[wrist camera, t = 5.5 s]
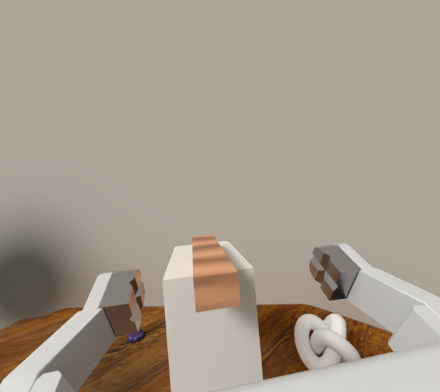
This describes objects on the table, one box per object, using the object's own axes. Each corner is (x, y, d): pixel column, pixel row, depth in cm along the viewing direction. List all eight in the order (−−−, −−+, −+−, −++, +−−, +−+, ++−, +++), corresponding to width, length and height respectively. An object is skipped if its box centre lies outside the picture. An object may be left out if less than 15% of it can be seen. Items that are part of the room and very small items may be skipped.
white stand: (270, 464, 27) (253, 267, 28) (178, 489, 25) (162, 280, 26) (236, 353, 47) (227, 240, 47) (184, 364, 45) (175, 246, 46)
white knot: (302, 336, 51) (299, 300, 51) (361, 351, 45) (356, 310, 45) (293, 371, 41) (289, 326, 41) (366, 396, 35) (361, 343, 35)
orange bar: (240, 305, 18) (237, 271, 18) (195, 312, 18) (193, 277, 18) (213, 249, 40) (212, 234, 40) (193, 252, 39) (192, 236, 40)
